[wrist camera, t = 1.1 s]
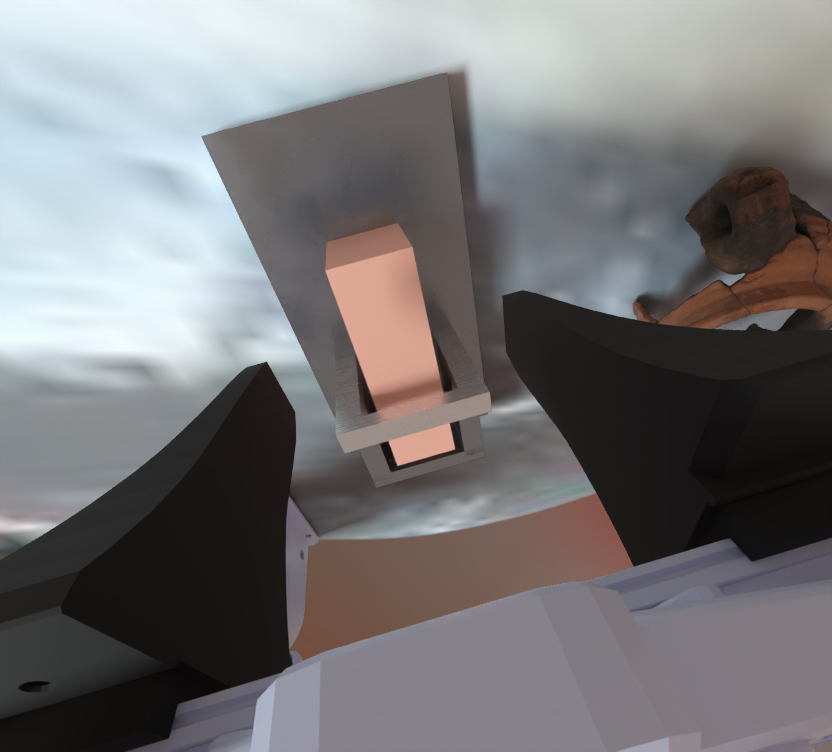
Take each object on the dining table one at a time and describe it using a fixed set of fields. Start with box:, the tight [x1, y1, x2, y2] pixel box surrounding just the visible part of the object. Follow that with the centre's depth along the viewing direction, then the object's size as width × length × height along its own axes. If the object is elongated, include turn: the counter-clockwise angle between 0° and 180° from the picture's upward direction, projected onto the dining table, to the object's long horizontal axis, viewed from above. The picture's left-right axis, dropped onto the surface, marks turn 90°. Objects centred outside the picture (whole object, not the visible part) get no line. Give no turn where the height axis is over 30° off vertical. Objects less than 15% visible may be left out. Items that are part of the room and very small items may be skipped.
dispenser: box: [201, 73, 492, 488], centre depth 18 cm, size 19×10×7 cm, turn 12°
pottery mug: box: [633, 167, 832, 331], centre depth 21 cm, size 12×10×8 cm
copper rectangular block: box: [325, 223, 455, 466], centre depth 19 cm, size 12×4×4 cm, turn 12°
